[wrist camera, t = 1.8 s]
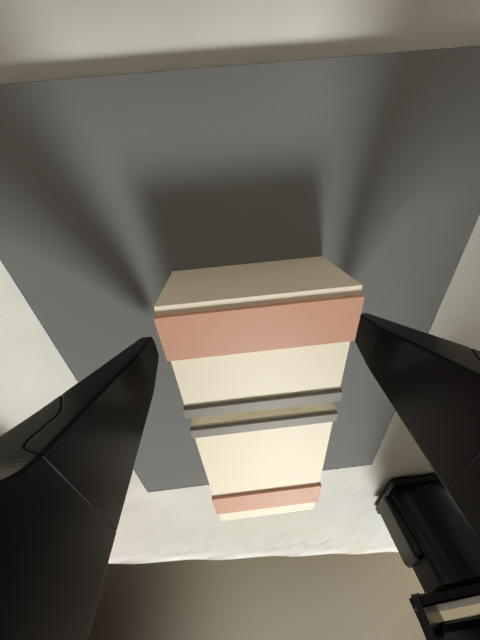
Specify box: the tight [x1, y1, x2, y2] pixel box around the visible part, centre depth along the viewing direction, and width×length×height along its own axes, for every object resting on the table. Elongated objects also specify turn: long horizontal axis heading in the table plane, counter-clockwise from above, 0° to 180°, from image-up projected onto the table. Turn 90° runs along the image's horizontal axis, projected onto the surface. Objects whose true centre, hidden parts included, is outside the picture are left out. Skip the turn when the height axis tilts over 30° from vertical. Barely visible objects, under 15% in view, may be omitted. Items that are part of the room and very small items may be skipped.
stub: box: [154, 256, 365, 419], centre depth 9 cm, size 6×5×3 cm
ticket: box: [190, 402, 338, 521], centre depth 13 cm, size 6×10×3 cm, turn 4°
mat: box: [0, 46, 480, 492], centre depth 12 cm, size 18×23×1 cm
